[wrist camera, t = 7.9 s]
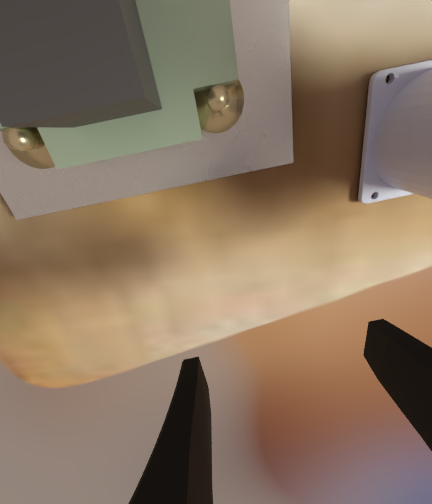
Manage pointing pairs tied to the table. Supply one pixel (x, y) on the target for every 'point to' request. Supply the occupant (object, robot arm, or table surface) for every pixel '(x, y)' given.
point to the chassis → (181, 155)
